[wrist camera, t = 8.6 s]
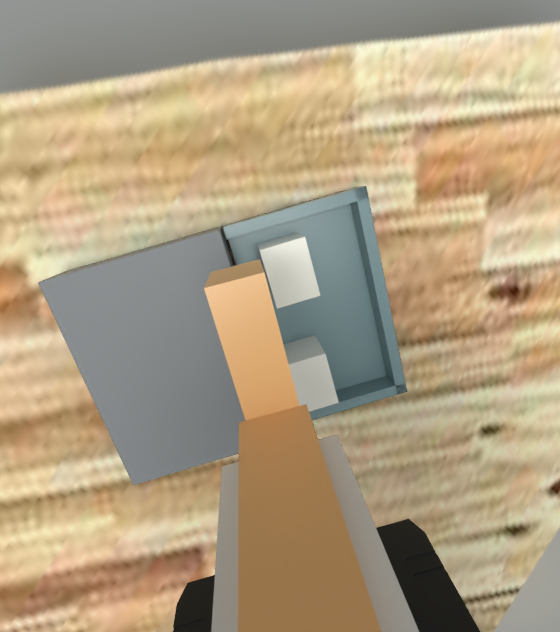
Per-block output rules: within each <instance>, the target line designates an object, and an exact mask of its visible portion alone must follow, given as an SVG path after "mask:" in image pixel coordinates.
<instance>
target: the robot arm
mask: <svg viewBox="0 0 560 632" xmlns="http://www.w3.org/2000/svg"><path fill="white" fill-rule="evenodd" d="M318 441H319V444H320V447H321V450H322V453H323V456H324V459H325V462H326V465H327V468H328V472H329V475H330V478H331V481H332V484H333V487H334V490H335V493H336V496H337V499H338V502H339V505H340V508H341V511H342V514H343V517H344V520H345V523H346V526H347V529H348V532H349V535H350V538H351V541H352V545H353V548H354V551H355V554H356V557H357V560H358V563H359V566H360V569H361V572H362V575H363V578H364V581H365V584H366V587H367V590H368V593H369V596H370V599H371V602H372V605H373V608H374V611H375V614H376V618H377V621H378V624H379V627H380V630H381V632H480V631H479V629H478V627H477V625H476V624H475V622H474V620H473V618H472V616H471V615H470V613H469V611H468V609H467V607H466V606H465V604H464V602H463V600H462V598H461V597H460V595H459V593H458V591H457V590H456V588H455V586H454V584H453V582H452V581H451V579H450V577H449V575H448V573H447V572H446V570H445V569H444V566H443V564H442V563H441V561H440V559H439V557H438V555H437V554H436V553H435V550H434V548H433V546H432V545H431V543H430V541H429V539H428V538H427V536H426V534H425V532H424V531H422V530H421V529H420V528H419V527H418V526H416V525H415V524H414V523H413V522H412V521H410V520H409V519H406V520H403V521H399V522H396V523H392V524H389V525H385V526H382V527H378V528H376V527H375V525H374V522H373V520H372V517H371V515H370V513H369V510H368V508H367V505H366V503H365V501H364V498H363V496H362V493H361V491H360V489H359V486H358V484H357V481H356V479H355V477H354V474H353V472H352V469H351V467H350V465H349V462H348V460H347V457H346V455H345V453H344V450H343V448H342V445H341V443H340V440H339V438H338V436H337V435H333V436H330V437H326V438H322V439H319V440H318ZM238 507H239V462H236V463H232V464H229V465H225V466H222V475H221V490H220V506H219V521H218V536H217V551H216V567H215V575H214V576H210V577H207V578H203V579H200V580H196V581H193V582H189V583H187V585H186V587H185V589H184V591H183V593H182V595H181V597H180V599H179V601H178V603H177V607H176V614H175V620H174V626H173V627H174V631H173V632H238Z"/></svg>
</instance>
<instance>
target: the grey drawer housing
mask: <svg viewBox="0 0 560 632" xmlns="http://www.w3.org/2000/svg"><path fill="white" fill-rule="evenodd" d="M232 266H234V264H233V261H232V257H231V254H230V251H229V248H228V245H227V241H226V238H225V235H224V232H223V229H222V226H221V227H217V228H214V229H210V230H207V231H203V232H200V233H197V234H193V235H190V236H186V237H183V238H179V239H176V240H172V241H169V242H166V243H162V244H159V245H155V246H152V247H148V248H145V249H141V250H138V251H134V252H131V253H128V254H124V255H121V256H117V257H114V258H110V259H107V260H103V261H100V262H97V263H93V264H90V265H86V266H83V267H79V268H76V269H72V270H69V271H66V272H63V273H60V274H58V275H55V276H53V277H51V278H48V279H46V280H43V281H41V282H38V284H39V286H40V288H41V290H42V292H43V294H44V297H45V299H46V301H47V303H48V305H49V307H50V309H51V311H52V313H53V316H54V318H55V320H56V322H57V324H58V326H59V328H60V330H61V333H62V335H63V337H64V339H65V341H66V343H67V345H68V347H69V349H70V352H71V354H72V356H73V358H74V360H75V362H76V364H77V366H78V369H79V371H80V373H81V375H82V377H83V379H84V381H85V383H86V386H87V388H88V390H89V392H90V394H91V396H92V398H93V400H94V402H95V405H96V407H97V409H98V411H99V413H100V415H101V417H102V419H103V422H104V424H105V426H106V428H107V430H108V432H109V434H110V436H111V439H112V441H113V443H114V445H115V447H116V449H117V451H118V453H119V455H120V458H121V460H122V462H123V464H124V466H125V468H126V470H127V472H128V475H129V477H130V479H131V481H132V483H133V485H135V484H139V483H142V482H145V481H149V480H152V479H155V478H159V477H162V476H165V475H169V474H172V473H175V472H179V471H182V470H185V469H189V468H192V467H195V466H199V465H202V464H205V463H209V462H212V461H215V460H219V459H222V458H225V457H229V456H232V455H235V454H239V422H242V421H246V420H245V417H244V414H243V411H242V408H241V404H240V401H239V398H238V395H237V392H236V389H235V385H234V382H233V379H232V376H231V373H230V369H229V366H228V363H227V360H226V357H225V354H224V350H223V347H222V344H221V341H220V338H219V334H218V331H217V328H216V325H215V322H214V318H213V315H212V312H211V309H210V306H209V303H208V299H207V296H206V293H205V290H204V287H205V285H206V282H207V280H208V277H209V275H210V272H213V271H217V270H221V269H224V268H228V267H232Z"/></svg>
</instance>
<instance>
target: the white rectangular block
mask: <svg viewBox="0 0 560 632" xmlns="http://www.w3.org/2000/svg"><path fill="white" fill-rule="evenodd" d="M257 246H258V249H259V252H260V256H261V259H262V262H263V266H264V269H265V272H266V276H267V279H268V282H269V286H270V289H271V292H272V295H273V298H274V301H275V304H276V307H277V309H278V308H281V307H284V306H288V305H291V304H294V303H298V302H301V301H304V300H307V299H311V298H314V297H317V296H320V292H319V288H318V284H317V280H316V277H315V273H314V269H313V265H312V261H311V258H310V254H309V250H308V246H307V242H306V238H305V236H303V235H301V234H299V233H297V232H295V233H291V234H288V235H285V236H281V237H278V238H275V239H271V240H268V241H265V242H261V243H258V244H257Z"/></svg>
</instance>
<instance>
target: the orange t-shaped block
mask: <svg viewBox="0 0 560 632" xmlns="http://www.w3.org/2000/svg"><path fill="white" fill-rule="evenodd" d="M204 290H205V293H206V296H207V299H208V303H209V306H210V309H211V312H212V315H213V318H214V322H215V325H216V328H217V331H218V334H219V338H220V341H221V344H222V347H223V350H224V354H225V357H226V360H227V363H228V366H229V369H230V373H231V376H232V379H233V382H234V385H235V389H236V392H237V395H238V398H239V401H240V404H241V408H242V411H243V414H244V417H245V420H246V421H242V422H239V507H238V632H381V630H380V627H379V624H378V621H377V618H376V614H375V611H374V608H373V605H372V602H371V599H370V596H369V593H368V590H367V587H366V584H365V581H364V578H363V575H362V572H361V569H360V566H359V563H358V560H357V557H356V554H355V551H354V548H353V545H352V541H351V538H350V535H349V532H348V529H347V526H346V523H345V520H344V517H343V514H342V511H341V508H340V505H339V502H338V499H337V496H336V493H335V490H334V487H333V484H332V481H331V478H330V475H329V472H328V468H327V465H326V462H325V459H324V456H323V453H322V450H321V447H320V444H319V441H318V438H317V435H316V432H315V429H314V426H313V423H312V420H311V417H310V414H309V411H308V408H307V405H306V404H305V405H301V406H299V402H298V398H297V394H296V390H295V387H294V383H293V379H292V375H291V371H290V368H289V364H288V360H287V356H286V352H285V349H284V345H283V341H282V337H281V333H280V330H279V326H278V322H277V318H276V314H275V311H274V307H273V303H272V299H271V295H270V292H269V288H268V284H267V280H266V277H265V273H264V270H263V267H262V264H261V261H260V259H259V260H255V261H251V262H247V263H243V264H240V265H236V266H232V267H228V268H224V269H221V270H217V271H213V272H210V275H209V277H208V280H207V282H206V285H205V287H204Z"/></svg>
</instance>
